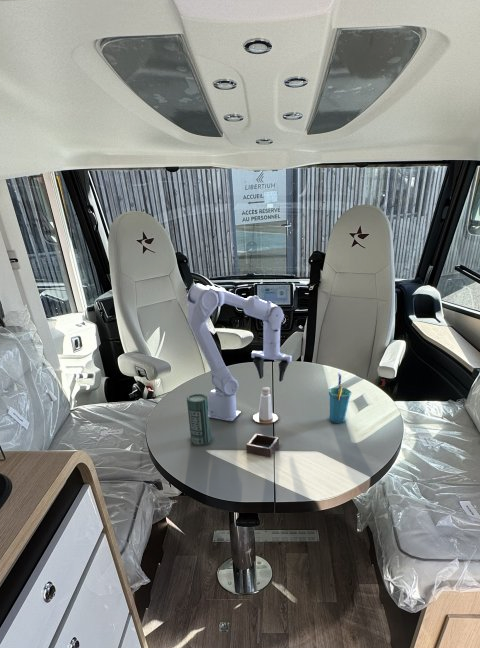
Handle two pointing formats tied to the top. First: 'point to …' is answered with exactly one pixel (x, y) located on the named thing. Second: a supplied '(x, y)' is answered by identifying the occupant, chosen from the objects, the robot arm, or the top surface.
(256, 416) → the coaster
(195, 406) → the can
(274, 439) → the box
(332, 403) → the cup
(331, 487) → the top surface
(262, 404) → the salt shaker
